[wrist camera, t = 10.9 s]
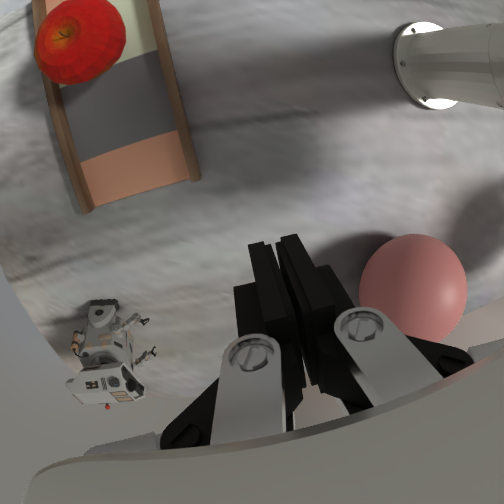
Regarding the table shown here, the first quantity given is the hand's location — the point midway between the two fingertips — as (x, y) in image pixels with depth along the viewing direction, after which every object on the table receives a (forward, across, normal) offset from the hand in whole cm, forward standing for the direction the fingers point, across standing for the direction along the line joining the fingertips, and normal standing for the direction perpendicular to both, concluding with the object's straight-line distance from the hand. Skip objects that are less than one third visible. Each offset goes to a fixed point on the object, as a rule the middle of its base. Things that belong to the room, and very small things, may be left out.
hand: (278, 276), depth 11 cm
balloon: (+27, -19, +23) cm, 40 cm away
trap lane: (+27, +12, -13) cm, 32 cm away
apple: (+27, +12, -17) cm, 34 cm away
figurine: (+27, +22, +20) cm, 40 cm away
